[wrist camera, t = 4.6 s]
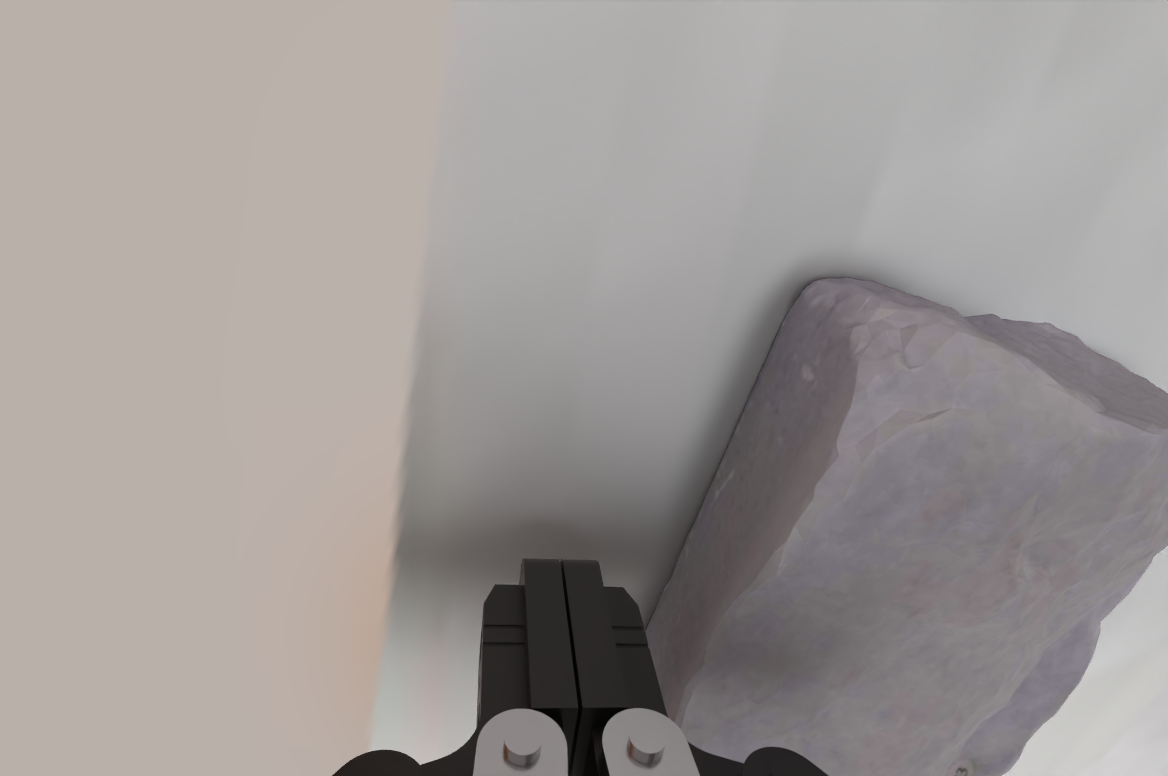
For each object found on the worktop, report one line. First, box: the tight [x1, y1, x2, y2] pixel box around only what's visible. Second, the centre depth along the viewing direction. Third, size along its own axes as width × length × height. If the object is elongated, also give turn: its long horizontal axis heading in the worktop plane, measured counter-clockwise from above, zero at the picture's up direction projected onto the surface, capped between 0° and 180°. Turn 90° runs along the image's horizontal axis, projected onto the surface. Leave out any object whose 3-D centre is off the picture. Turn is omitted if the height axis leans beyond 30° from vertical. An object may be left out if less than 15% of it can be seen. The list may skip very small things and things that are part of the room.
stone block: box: [645, 278, 1168, 776], centre depth 15 cm, size 12×5×10 cm
